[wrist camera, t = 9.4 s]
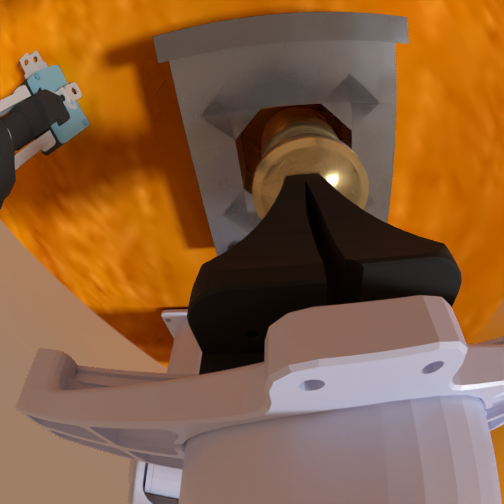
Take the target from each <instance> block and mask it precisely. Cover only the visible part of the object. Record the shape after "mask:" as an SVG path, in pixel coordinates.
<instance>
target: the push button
mask: <svg viewBox="0 0 504 504" xmlns="http://www.w3.org/2000/svg"><path fill="white" fill-rule="evenodd" d="M35 56H36V57H37V58H38V60H37V62H36V63H35V62H34V60H33V59H34V57H35ZM26 59H27V60H28V65H27V66H26V65H25V64H24V62H25V60H26ZM20 63H21V65H22V67H23V69H24V71H25V75H24V76H25V78H26V80H25V81H24V82H23V83H22V84H21V85H20V86H19V87H18V88H17V89H16V90H15V91H14V92H13V93H12V95H10V96H8V97H6V98H4V99H2V100H0V116H2V115H4V114H5V113H7V112H9V111H10V112H9V113H8V114H6V115H5V116H3V117H1V118H0V209H1V207H2V204H3V201H4V199H5V198H6V197H7V196H8V195H9V194H10V192H11V190H12V187H13V185H14V183H15V171H16V170H17V169H18V168H19V167H20V166H21V165H23V164H24V163H25V162H26V161H27V160H29V159H30V158H31V157H32V156H34V155H35V154H36V153H37V152H39V151H40V150H41V151H42V152H43V154H44V155H49V154H50V153H52V152H53V151H54V150H56V149H57V148H59V147H60V146H62V145H63V144H64V143H66V142H67V141H69V140H70V139H72V138H73V137H74V136H76V135H77V134H78V133H80V132H81V131H82V130H84V129H85V128H86V127H88V125H89V122H88V120H87V118H86V116H85V115H84V113H83V112H82V110H81V108H80V106H79V104H78V102H77V99H78V98H80V97H82V93H81V91H80V89H79V87H78V86H77V84H76V83H75V82H73V83H70V84H68V83H67V81H66V79H65V77H64V75H63V73H62V71H61V69H60V68H59V66H57V65H53V66H50V67H47V64H46V62H44V63H43V61H42V59H41V57H40V55H39V53H38V51H37V50H36V51H34V52H33V53H32V54H31V55H29V53H26V54H25V55H24V56H23V57H22V58H21V59H20ZM72 88H74V89H75V90H76V94H74V93H73V92H72ZM34 139H35V141H33V142H32V143H31V144H29V145H28V146H26V147H25V148H24V149H22V150H21V151H20V152H19V153H17V154H16V155H15V151H16V150H17V151H18V150H19V149H21V148H22V147H23V146H25V145H26V144H28V143H30V142H31V141H32V140H34Z"/></svg>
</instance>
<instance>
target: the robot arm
mask: <svg viewBox="0 0 504 504" xmlns="http://www.w3.org/2000/svg"><path fill="white" fill-rule="evenodd" d="M461 282H462V280H461V272H460V270H459V268H458V266H457V264H456V262H455V260H454V258H453V256H452V255H451V253H450V251H449V250H448V248H447V247H446V246H445V244H443V243H440V242H436V241H433V240H429V239H426V238H422V237H419V236H416V235H414V234H411V233H408V232H406V231H403V230H401V229H398V228H396V227H394V226H392V225H390V224H388V223H386V222H384V221H382V220H380V219H378V218H376V217H374V216H373V215H371V214H369V213H368V212H366V211H364V210H363V209H361V208H360V207H358V206H357V205H355V204H354V203H353V202H351V201H350V200H349V199H347V198H346V197H345V196H344V195H342V194H341V193H340V192H339V191H338V190H336V189H335V188H334V187H333V186H332V185H331V184H330V183H329V182H328V181H327V180H326V179H325V178H323V177H322V176H321V175H320V174H319V173H315V174H302V175H290V176H286V177H285V178H284V182H283V185H282V187H281V190H280V192H279V194H278V196H277V198H276V200H275V202H274V203H273V205H272V206H271V208H270V209H269V211H268V212H267V214H266V215H265V217H264V218H263V219H262V220H261V222H260V223H259V224H258V225H257V226H256V227H255V228H254V229H253V230H252V231H251V232H250V233H249V234H248V235H247V236H246V237H245V238H244V239H242V240H241V241H240V242H238V243H237V244H236V245H234V246H233V247H232V248H230V249H229V250H227V251H226V252H224V253H222V254H221V255H219V256H217V257H215V258H214V259H212V260H210V261H208V262H206V263H204V264H203V265H202V266H201V268H200V271H199V273H198V276H197V278H196V281H195V283H194V286H193V289H192V292H191V297H190V302H189V306H188V309H177V310H163V311H162V313H161V317H162V318H163V320H164V322H165V324H166V326H167V328H168V329H169V331H170V333H171V335H172V336H173V338H174V342H173V346H172V351H171V356H170V360H169V365H168V370H167V373H150V372H136V371H124V370H113V369H104V368H95V367H86V366H78V365H77V364H76V363H75V361H74V360H73V359H72V358H71V357H70V356H69V355H68V354H66V353H64V352H61V351H57V350H50V349H42V348H40V349H38V351H37V353H36V356H35V358H34V361H33V363H32V365H31V368H30V370H29V373H28V375H27V378H26V380H25V383H24V385H23V388H22V391H21V394H20V396H19V399H18V402H17V405H16V409H17V410H18V411H19V412H21V413H22V414H24V415H25V416H26V417H28V418H29V419H31V420H32V421H34V422H35V423H37V424H38V425H40V426H41V427H43V428H44V429H46V430H47V431H49V432H51V433H52V434H54V435H55V436H57V437H59V438H61V439H64V440H67V441H70V442H74V443H77V444H81V445H83V446H87V447H90V448H93V449H97V450H100V451H103V452H107V453H111V454H114V455H118V456H121V457H126V458H129V459H131V461H130V469H129V484H130V486H129V495H128V502H129V503H130V504H502V503H501V493H500V485H499V478H498V472H497V466H496V460H495V455H494V449H493V445H492V440H491V435H490V431H491V430H493V429H495V428H497V427H499V426H501V425H503V424H504V336H503V337H500V338H496V339H492V340H489V341H485V342H481V343H477V344H466V342H465V339H464V337H463V334H462V332H461V329H460V327H459V324H458V322H457V319H456V317H455V315H454V312H453V310H452V308H451V307H452V305H453V303H454V301H455V299H456V296H457V294H458V292H459V289H460V285H461Z"/></svg>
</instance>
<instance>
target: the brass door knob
mask: <svg viewBox="0 0 504 504" xmlns="http://www.w3.org/2000/svg"><path fill="white" fill-rule="evenodd" d="M315 173H319V174H320V175H321V176H322V177H323V178H325V179H326V180H327V181H328V182H329V183H330V184H331V185H332V186H333V187H334V188H335V189H336V190H338V191H339V192H340V193H341V194H342V195H344V196H345V197H346V198H347V199H349V200H350V201H351V202H353V203H354V204H355V205H357V206H358V207H360V208H361V209H364V207H365V205H366V202H367V199H368V194H369V182H368V177H367V173H366V171H365V168H364V166H363V165H362V163H361V161H360V160H359V158H358V157H357V155H356V154H355V153H354V151H353V150H352V149H351V148H350V147H348V146H347V145H346V144H345V143H343V142H342V141H340V140H339V139H338V137H337V135H336V134H335V132H334V131H333V129H332V127H331V126H330V124H329V123H328V121H327V120H326V119H325V118H324V117H323V116H322V115H321V114H320V113H318V112H317V111H315V110H312V109H309V108H306V107H290V108H286V109H283V110H281V111H279V112H278V113H276V114H275V115H274V116H272V117H271V118H270V120H269V121H268V122H267V124H266V125H265V127H264V130H263V133H262V149H261V160H260V161H259V163H258V165H257V167H256V170H255V173H254V178H253V187H252V197H253V203H254V206H255V209H256V211H257V213H258V215H259V217H260V218H261V220H262V219H263V218H264V217H265V215H266V214H267V212H268V211H269V209H270V208H271V206H272V205H273V203H274V202H275V200H276V198H277V196H278V194H279V192H280V190H281V187H282V185H283V182H284V178H285V177H286V176H290V175H302V174H315Z"/></svg>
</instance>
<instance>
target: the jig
mask: <svg viewBox="0 0 504 504" xmlns="http://www.w3.org/2000/svg"><path fill="white" fill-rule="evenodd" d="M153 42H154V46H155V51H156V55H157V60H158V63H162V62H166V61H169V63H170V68H171V72H172V77H173V81H174V86H175V90H176V95H177V99H178V103H179V108H180V112H181V116H182V120H183V125H184V129H185V133H186V137H187V141H188V145H189V149H190V153H191V157H192V161H193V165H194V169H195V173H196V177H197V181H198V185H199V189H200V193H201V197H202V201H203V204H204V208H205V212H206V216H207V220H208V223H209V227H210V231H211V235H212V238H213V242H214V246H215V249H216V253H217V256H219V255H221V254H222V253H224V252H226V251H227V250H229V249H230V248H232V247H233V246H234V245H236V244H237V243H238V242H240V241H241V240H242V239H244V238H245V237H246V236H247V235H248V234H249V233H250V232H251V231H252V230H253V229H254V228H255V227H256V226H257V225H258V224H259V223H260V222H261V218H260V217H259V215H258V213H257V211H256V209H255V206H254V203H253V197H252V187H253V178H254V173H253V172H251V171H250V170H248V169H247V168H246V163H245V157H244V151H243V145H242V139H241V132H242V131H243V130H244V129H245V127H246V126H247V125H248V124H249V122H250V121H251V120H252V119H253V118H254V116H255V115H256V114H257V113H258V112H259V110H260V109H261V108H268V107H279V106H290V105H304V104H322V105H323V106H324V107H325V108H327V109H328V110H329V111H330V112H331V113H332V114H334V115H335V116H336V117H337V118H338V119H339V120H340V121H341V141H342V142H343V143H345V144H346V145H347V146H348V147H350V148H351V149H352V150H353V151H354V153H355V154H356V155H357V157H358V158H359V160H360V161H361V163H362V165H363V166H364V168H365V171H366V173H367V177H368V182H369V194H368V199H367V202H366V205H365V207H364V209H363V210H364V211H366V212H368V213H369V214H371V215H373V216H374V217H376V218H378V219H380V220H382V221H384V222H386V223H387V221H388V213H389V205H390V196H391V186H392V175H393V163H394V149H395V130H396V52H395V43H405V44H408V27H407V17H402V16H393V15H383V14H371V13H354V12H302V13H284V14H272V15H262V16H253V17H245V18H238V19H231V20H225V21H219V22H214V23H209V24H204V25H199V26H194V27H190V28H185V29H181V30H177V31H173V32H169V33H165V34H161V35H158V36H154V37H153Z"/></svg>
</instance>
